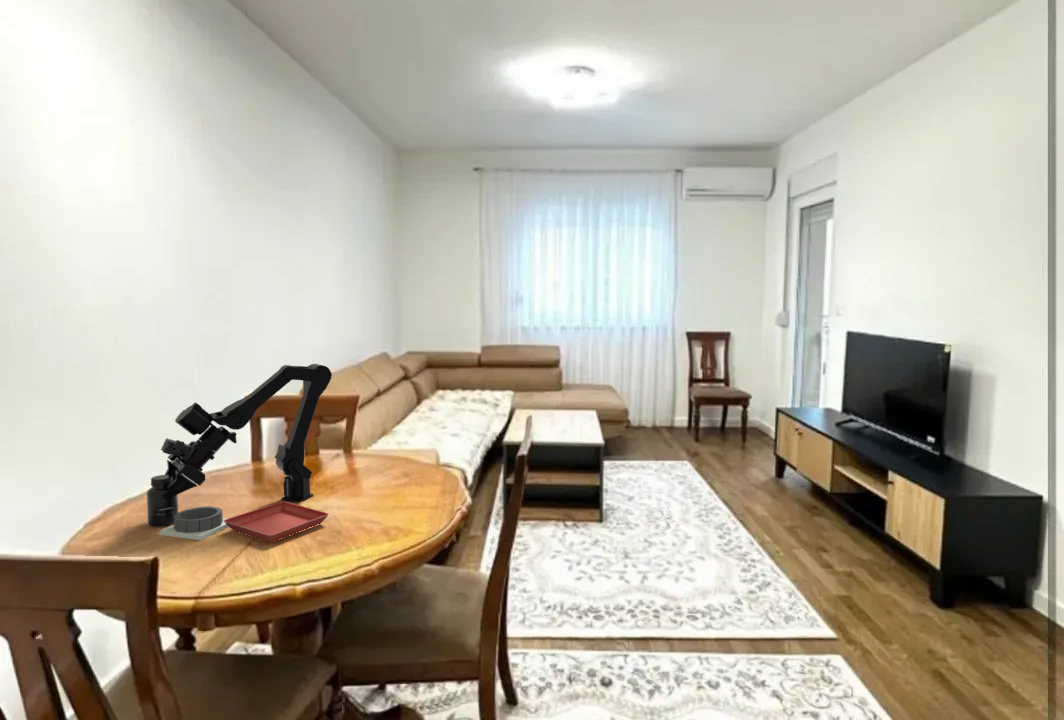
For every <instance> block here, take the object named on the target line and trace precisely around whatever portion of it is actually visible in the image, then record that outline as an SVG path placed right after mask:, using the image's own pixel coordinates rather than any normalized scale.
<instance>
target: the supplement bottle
mask: <svg viewBox="0 0 1064 720" xmlns="http://www.w3.org/2000/svg"><path fill="white" fill-rule="evenodd" d="M172 483H173V477H172V476H171V475H165V474H161V475H155V476H152V477H151V478H150V486H151V487H150V488H148V490H147V492H146V507H147V508H146V510H147V512H146V513H147V525H149V526H151V527H156V528H160V527H169V526H172V525H174V516H175V515H176V513H178V512H179V502H178V501H179V499H178V497H179V494H178V495H175V496H173V497H171V498H169V499H167V500H165V499H164V498H163V496H164V494H165V493H166V491H167V490H168V489H169V487H170V486H171V484H172ZM171 524H172V525H171Z"/></svg>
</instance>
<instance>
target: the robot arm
mask: <svg viewBox="0 0 1064 720" xmlns="http://www.w3.org/2000/svg"><path fill="white" fill-rule="evenodd" d="M332 376H333V375H332V371H331V370H330V368H329V367H328V366H326V365H323V364H319V363H312V364H309V365H307V366H304V365H302V366H301V365H290V364H284V365H281V367H280V368H279V369H278V370H277V371H276V372H275V373H273V374H272V375H271V376H270V377H269V378H268V379H266V380H265V381H264V382H262V384H260V385H259V386H258V387H257V388H255V389H254V390H253V391H252V392H250V393H249V394H248V395H246V396H245V397H243V398H240V399H239V400H236V401H234V402H232V403H230V404H229V405H227V406H226V407H224V408H222V410H220V411H216V412H210V413H209V412H207V411H206V410H205V409H204V408H203V407H202V406H201V405H200V404H199V403H198V402H195V401H194V402H193V403H192V404H191V405H190V406H188V407H187V408H186V409H182V411H181V412H180V413H179V414H178V415H177V416H176V419H174V421H175V423H176V424H178V425H179V426H180V427H181V428H182V429H184V430H185V431H187V433H188V434H189V433H190V435H192V436H195V435H199V436H200V437H198V439H197V440H196V441H194V440H192V441H190V442H189V443H185V442H184V441H182V440H179V439H177V440H174V439H172V438H171V439H170V438H167V437H166V438H165V440H164V442H163V444H162V446H161V449H160V450H161V451H162V453H163V454H166V455H168V456H167V459H166V462H167V464H166V465H167V470H166V471H165V473H164V475H171V476H172V477H173V483H172V484H171V486H170V487H169V489H168V490H167V491H166V493H165V494H164V496H163V498H164V499H165V500H167V499H169V498H171V497H173V496H175V495H178V496H179V495H180V494H182V493H184V492H186V491H188V490H190V489H192V488H196V487H198V486H200V487H201V485H202V484H203V483H204V482H205V481H206V474H205V473H204V472H203V470H204V469H203V467H204V466H205V465H206V464H207V463H208V462H209V461H210V460H211V461H213V460H214V459H215V455H216V454H217V452H218V451H219V450H220V449H221V448H222V447H223V446H224V445H225V444H226V443H227V441H230V442H231V443H233V444H237V432H235V431H234V430H237V431H238V430H241V429H243V428H245V426H246V425H247V424H248V423H249V422H250V421H251V420H252V419H253V417H254V415H255V413H256V412H257V410H258V409H259V408H260V407H261V406H262V405H264V404H265V403H266V402H268V400H270V399H271V398H272V397H273V396H274V395H276V394H277V393H278V392H280V390H281V389H283V388H284V387H285V386H286V385H288V384H289V383H290V382H291V381H292V380H293V381H302V386H303V387H302V388H303V389H302V390H303V393H302V396H301V398H300V399H301V400H300V401H299V402H300V403H299V406H298V409H297V413H296V415H295V418H294V421H293V423H292V427H291V430H290V434H289V436H288V439H287V441H286V442H285V443H284V444H283V445H282V444H278V446H277V452H276V454H275V455H274V457H273V458H274V459H275V465H276V467H277V468H278V469H279V470H280V471H281V472H282V473H283V475H284V480H283V496H282V497H281V501H282V500H283V501H291V502H298V503H299V502H302V501H305V500H307V499H309V498H311V497H313V496H314V493H311V481H310V479H311V476H312V474H313V472H312V470H311V469H309V468H308V467H306V465H305V464H304V463H305V454H306V453H305V443H306V440H307V437H308V434H309V431H310V428H311V427H310V426H311V424H312V421H313V418H314V415H315V412H316V409H317V405H318V404H319V403H318V402H319V400H320V397H321V395H322V394H323V393H324V392H325V390H326V389H327V388H328V386H329V384H330V382H331V380H332ZM212 422H214V423H216V424H217V425H219V426H218V427H217V426H216V425H214V424H213V423H212ZM225 427H227V428H228V429H230V430H233V431H229V430H228V429H227V428H225Z"/></svg>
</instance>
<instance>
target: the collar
mask: <svg viewBox="0 0 1064 720" xmlns="http://www.w3.org/2000/svg"><path fill="white" fill-rule="evenodd" d="M223 518H224V515H223V509H222V508H221V507H218V506H197V507H191V508H188V509H187V508H186V509H184V510H181V511H178V513H176V515H175V516H174V524H173V525H174V529H175V530H176V531H177V532H182V533H195V532H203V531H207V530H211V529H214V528H216V527H218V526H220V525H221V524H222V522H223Z"/></svg>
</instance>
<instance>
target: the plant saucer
mask: <svg viewBox="0 0 1064 720" xmlns="http://www.w3.org/2000/svg"><path fill="white" fill-rule="evenodd" d="M329 515H330V514H329V513H328V512H325V511H321V510H317V509H315V508H310V507H307V506H303V505H299V504H296V503H291V502H288V501H280V502H277V503H274V504H271V505H270V504H269V505H267V506H264V507H260V508H258V509H254V510H252V511H248V512H245V513H242V514H239V515H236V516H233V517H229V518H227V519H226V520H224V522H225V523H226V524H227V525H228V526H229V527H228V528H230V529H231V530H232V531H233V532H235V531H236V532H235V533H238V532H240V533H239V534H241V533H243V534H242V535H244V534H247V535H246V536H248V535H250V536H249V537H251V536H253V537H252V538H254V537H256V538H255V539H257V538H259V539H258V540H260V539H262V540H261V541H263V540H265V541H264V542H266V541H268V542H267V543H270V542H273V543H275V542H274V541H276V542H278V541H277V540H279V539H281V538H284V537H286V538H288V537H287V536H289V535H292V534H294V533H296V532H299V531H302V530H304V529H307V528H309V527H312V526H315V525H317V524H320V523H321V524H322V523H323V522H325V520H326V519H327V518H328V516H329ZM321 524H320V525H321ZM302 532H303V531H302ZM294 535H295V534H294ZM292 536H293V535H292ZM289 537H290V536H289ZM284 539H285V538H284ZM281 540H282V539H281ZM279 541H280V540H279Z"/></svg>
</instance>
